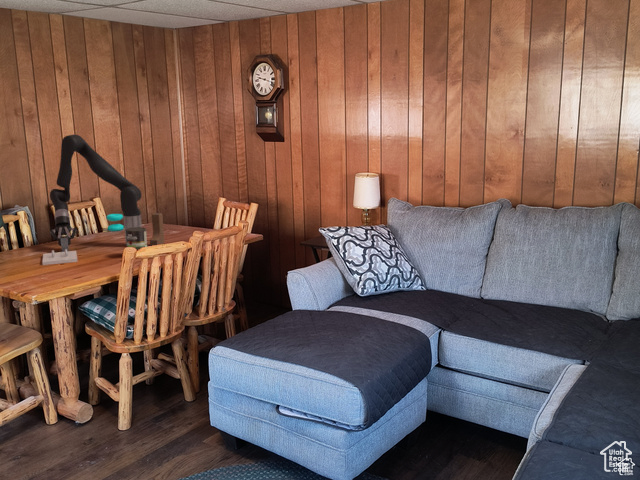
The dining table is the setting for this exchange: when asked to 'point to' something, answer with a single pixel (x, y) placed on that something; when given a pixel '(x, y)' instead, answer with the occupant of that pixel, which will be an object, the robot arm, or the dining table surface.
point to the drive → (64, 243)
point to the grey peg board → (59, 257)
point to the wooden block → (157, 229)
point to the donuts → (115, 218)
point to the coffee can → (136, 237)
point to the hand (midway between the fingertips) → (64, 244)
